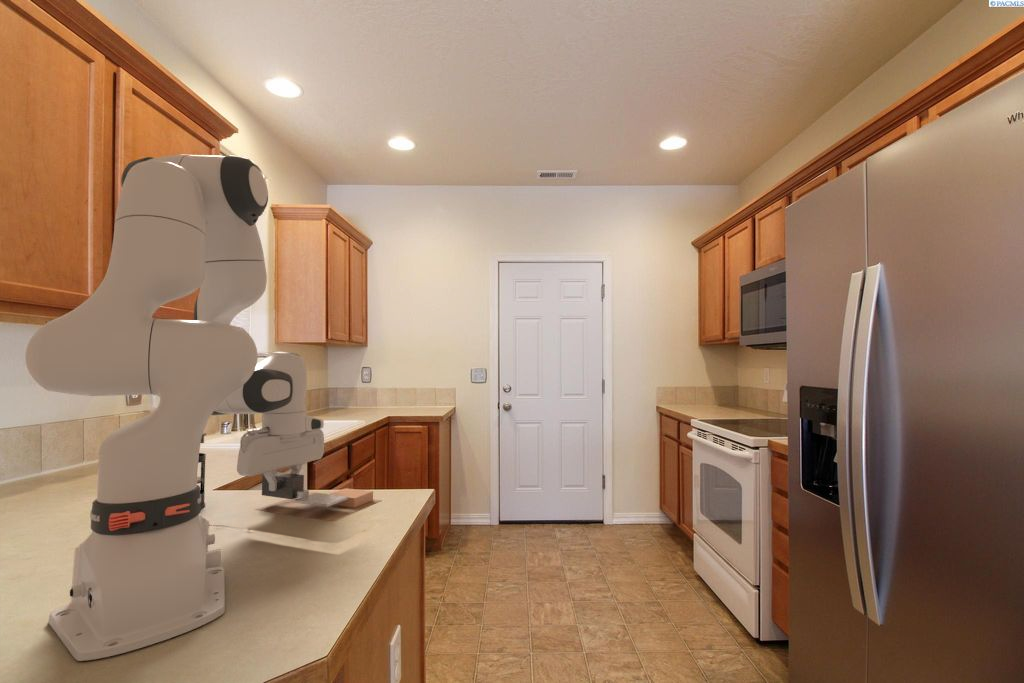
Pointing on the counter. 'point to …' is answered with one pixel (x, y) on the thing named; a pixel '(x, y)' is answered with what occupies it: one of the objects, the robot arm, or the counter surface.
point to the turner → (298, 491)
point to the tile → (354, 497)
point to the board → (313, 509)
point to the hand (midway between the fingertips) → (283, 487)
